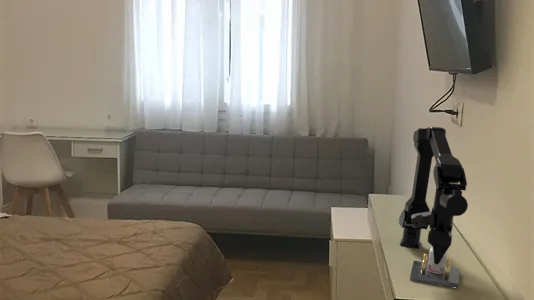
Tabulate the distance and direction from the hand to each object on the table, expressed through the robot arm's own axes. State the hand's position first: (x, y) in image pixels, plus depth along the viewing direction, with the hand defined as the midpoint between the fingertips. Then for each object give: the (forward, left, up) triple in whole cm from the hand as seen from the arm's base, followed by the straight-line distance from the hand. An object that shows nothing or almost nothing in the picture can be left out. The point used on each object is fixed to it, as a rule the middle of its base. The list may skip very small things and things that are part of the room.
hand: (436, 258), depth 170 cm
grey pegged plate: (0, 0, -5) cm, 5 cm away
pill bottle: (0, 0, -4) cm, 4 cm away
